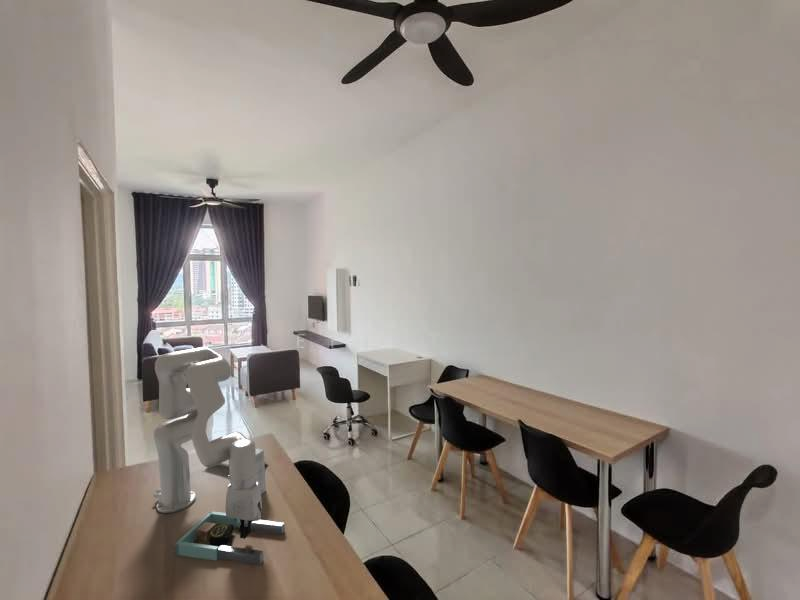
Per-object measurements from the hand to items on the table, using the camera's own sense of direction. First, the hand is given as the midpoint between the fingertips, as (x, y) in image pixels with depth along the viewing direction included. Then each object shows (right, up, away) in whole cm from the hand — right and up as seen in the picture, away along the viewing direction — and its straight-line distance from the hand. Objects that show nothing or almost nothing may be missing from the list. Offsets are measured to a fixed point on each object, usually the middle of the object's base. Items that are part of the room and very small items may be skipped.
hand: (245, 535), depth 118 cm
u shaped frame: (-11, -3, +2) cm, 12 cm away
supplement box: (-10, -1, +26) cm, 28 cm away
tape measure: (-8, -3, +2) cm, 8 cm away
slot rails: (+3, -3, -1) cm, 4 cm away
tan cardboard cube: (-14, -3, +3) cm, 14 cm away
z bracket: (-24, 0, +48) cm, 54 cm away
